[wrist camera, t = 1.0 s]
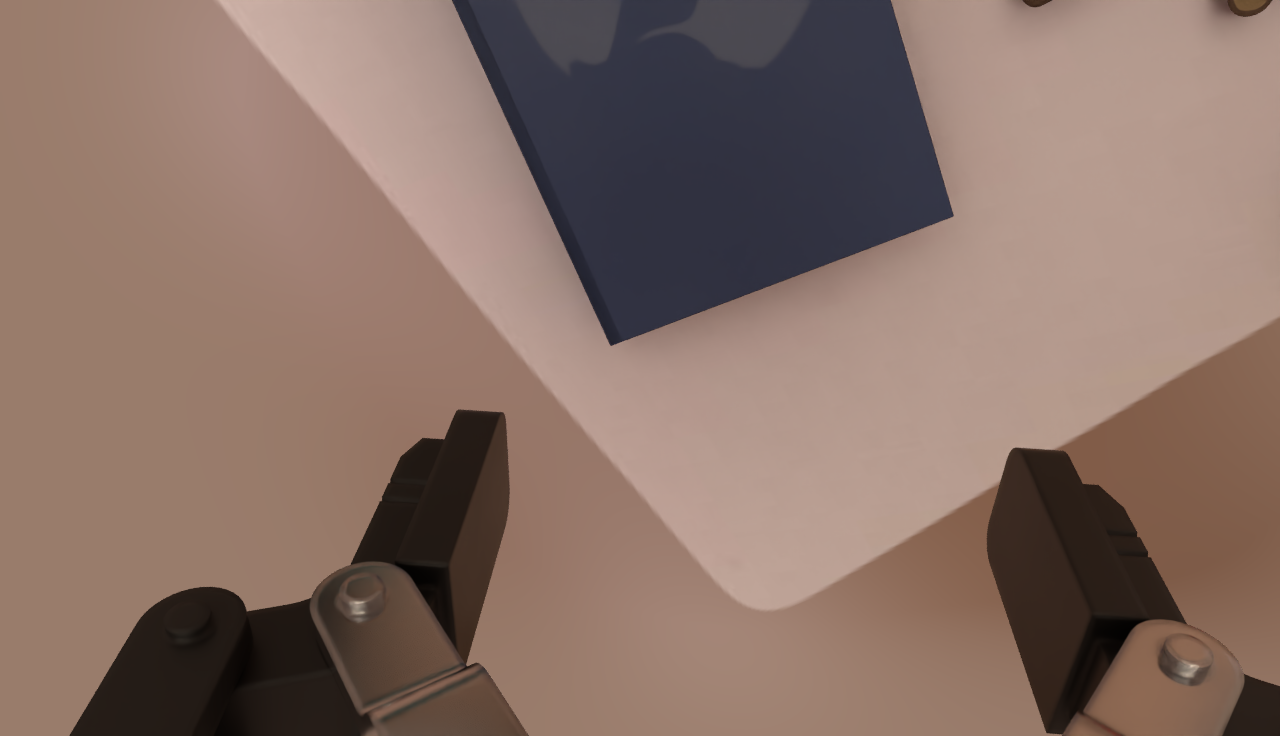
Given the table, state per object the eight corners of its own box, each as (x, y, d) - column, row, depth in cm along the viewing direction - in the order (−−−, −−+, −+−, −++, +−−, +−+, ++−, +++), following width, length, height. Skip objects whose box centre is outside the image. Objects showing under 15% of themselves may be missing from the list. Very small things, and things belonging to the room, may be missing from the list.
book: (386, -182, 35) (363, -193, 32) (764, -371, 33) (773, -400, 30) (613, 320, 43) (610, 346, 40) (934, 197, 40) (954, 216, 38)
